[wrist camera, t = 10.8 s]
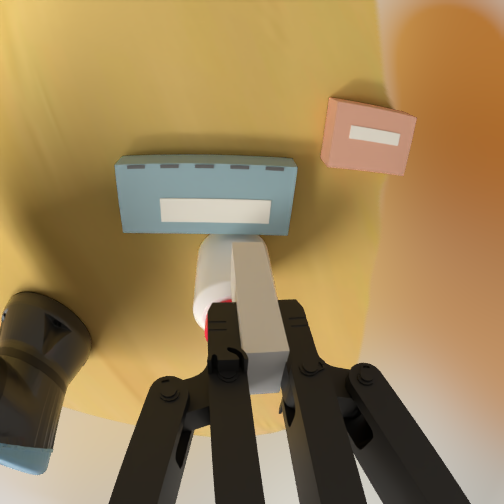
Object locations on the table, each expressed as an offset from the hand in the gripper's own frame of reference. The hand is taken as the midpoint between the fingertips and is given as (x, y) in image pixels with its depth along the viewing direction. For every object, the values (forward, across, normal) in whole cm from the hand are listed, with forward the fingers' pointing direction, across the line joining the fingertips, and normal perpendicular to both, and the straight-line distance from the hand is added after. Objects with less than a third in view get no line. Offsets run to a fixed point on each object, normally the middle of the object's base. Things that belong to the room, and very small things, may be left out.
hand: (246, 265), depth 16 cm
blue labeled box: (+16, -2, -3) cm, 16 cm away
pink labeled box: (+15, +12, +4) cm, 20 cm away
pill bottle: (+16, +1, -11) cm, 19 cm away
